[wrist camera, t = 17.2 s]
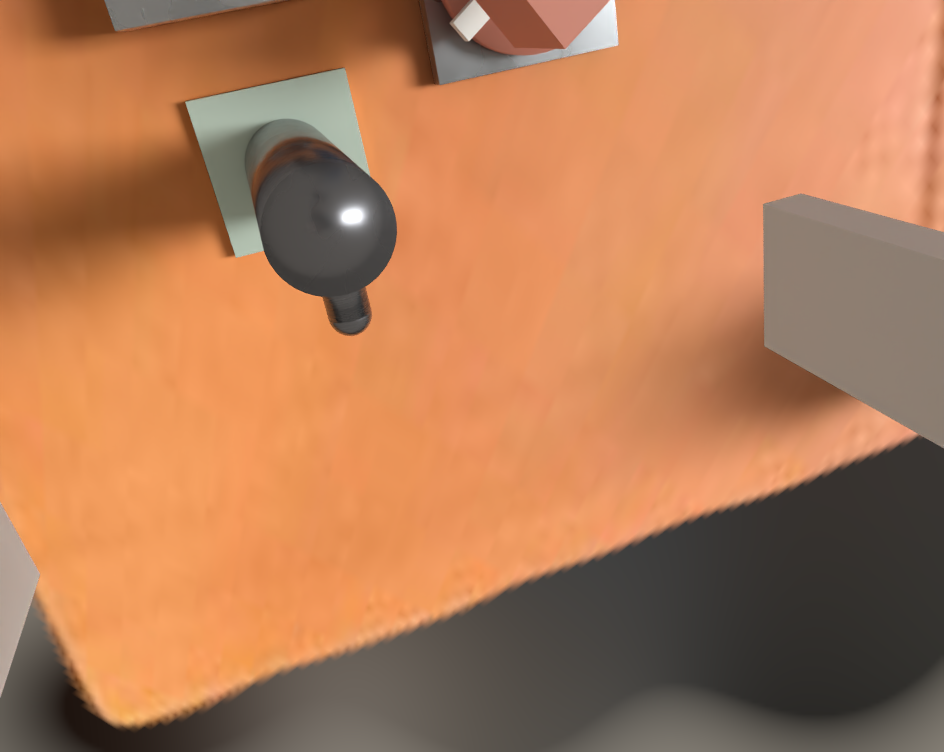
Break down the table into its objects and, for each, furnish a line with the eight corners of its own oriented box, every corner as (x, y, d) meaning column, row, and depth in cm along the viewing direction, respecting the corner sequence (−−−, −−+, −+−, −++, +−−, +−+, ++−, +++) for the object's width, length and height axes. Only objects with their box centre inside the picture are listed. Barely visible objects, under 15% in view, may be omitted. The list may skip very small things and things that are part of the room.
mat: (185, 101, 33) (185, 101, 33) (343, 67, 35) (344, 68, 34) (235, 255, 37) (236, 257, 36) (378, 219, 38) (380, 221, 37)
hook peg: (232, 129, 34) (242, 180, 22) (321, 109, 35) (379, 148, 22) (270, 253, 36) (298, 361, 24) (352, 232, 37) (420, 327, 25)
